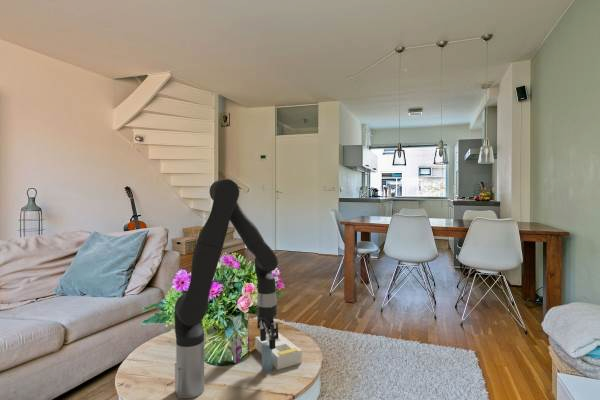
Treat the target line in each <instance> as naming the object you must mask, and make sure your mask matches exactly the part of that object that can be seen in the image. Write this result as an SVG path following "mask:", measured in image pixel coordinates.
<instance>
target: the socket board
mask: <svg viewBox="0 0 600 400" xmlns="http://www.w3.org/2000/svg"><path fill="white" fill-rule="evenodd" d="M275 334H276V333H275ZM264 342H269V336H268V334H267V333H266V340H265V341H261V340H260V335H258V336H255V342H254V343H255V347H254V348H255V349H256V350H257V351H258V352H259V354H260V355H262V343H264ZM302 352H303V351H302V349H301V348H300V347H298V346H296V344H294V343H293V342H291V341H290V340H289V339H288V338H286V337H284V335H282V334H281V333H280V332H278V339H275V349H272V367H274V369H276V370H277V371H278V370H281V369H285V368H288V367H292V366H295V365H299V364H301V363H302V362H303V359H302V358H303V357H302V356H303V353H302Z"/></svg>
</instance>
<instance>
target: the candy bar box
mask: <svg viewBox="0 0 600 400" xmlns="http://www.w3.org/2000/svg"><path fill="white" fill-rule="evenodd" d="M247 320H248V350H249V351H250V322H249V321H250V314H247ZM232 349H233V350H232V351H233V358H234V363H233V364H238V363H239V362H240V361H241V360H240V357H241V353H242V347H241V341H240V338H239V336H237V335H235V336H234V337H233V341H232Z"/></svg>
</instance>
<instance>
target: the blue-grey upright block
mask: <svg viewBox="0 0 600 400" xmlns="http://www.w3.org/2000/svg"><path fill="white" fill-rule="evenodd" d="M261 371H262V372H263V373H271V372H272V371H273V365H272V350H271V349H270V348H269V342H264V343H262V354H261Z"/></svg>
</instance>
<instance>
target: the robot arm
mask: <svg viewBox="0 0 600 400" xmlns="http://www.w3.org/2000/svg"><path fill="white" fill-rule="evenodd" d="M209 196H210V198H211V200H212V206H211V211H210V213H209V216H208V218H207V220H206V222H205V223H204V225H203V227H202V228H201V230H200V232H199V234H198V237H197V239H196V243H195V246H194V249H193V253H192V259H191V270H190V281H189V285H188V288H187V290H186V292H185V293H183V294H182V295H180V297H178V299H177V300H176V302H175V305H174V334H175V339H176V340H175V345H176V346H175V347H176V350H175V353H176V355H175V361H176V362H175V363H174V392H175V395H176V397H177V399H178V400H180V399H191V398H196V397H199V396H200V395H202V394H203V393H204V391H205V331H204V328H203V321H202V320H204V318H205V316H206V314H207V310H208V304H209V299H210V294H211V293H210V292H211V289H212V283H213V281H214V278H215V276H216V275H215V274H216V271H217V268H218V264H219V262H220V260H221V259H220V258H221V255H222V252H223V247H224V244H225V240H226V236H227V233H228V229H229V224H230V223H231V224H232V226H233V227H234V230H235V231H236V232H237V234H238V236H239V237H240V239H241V240H242V242H243V243H244V245H245V246H246V248H247V250H248V251H249V252H250V253H252V254H253V256H254V270H255V275H256V280H257V297H256V303H257V304H256V306H257V307H256V310H257V311H256V312H257V323H256V324H257V329H258V330H259V336H260V340H261V341H265V340H266V334H268V336H269V348H270V349H271V350H272V349H275V339H278V333H279V324H278V322H275V320H274V318H275V317H276V316H277V314H278V311H277V309H278V306H277V305H278V303H277V299H278V298H277V291H276V289H277V287H276V283H277V282H276V279H275V277H274V275H273V273H272V272H273V271H275V269H277V267H278V262H279V261H278V258H277V255H276V253H275V252H274V250H273V249H272V248H271V247H270V246H269V245H268V243H267V242H266V241H265V240H264V238H263V236H262V234H261V233H260V231H259V230H258V229H259V228H257V226H256V225H255V224H254V222H253V221H252V220H251V219H250V218H249V216H248V215H247V214H246V213H245V211H243V209H242V207H241V206H240V205H239V203H238V200H239V197H240V187H239V184H238V183H237V182H236V181H235V180H233V179H230V178H225V179H219V180H216V181H214V182H213V183H212V184H211V185H210V187H209ZM275 333H276V334H275Z"/></svg>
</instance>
